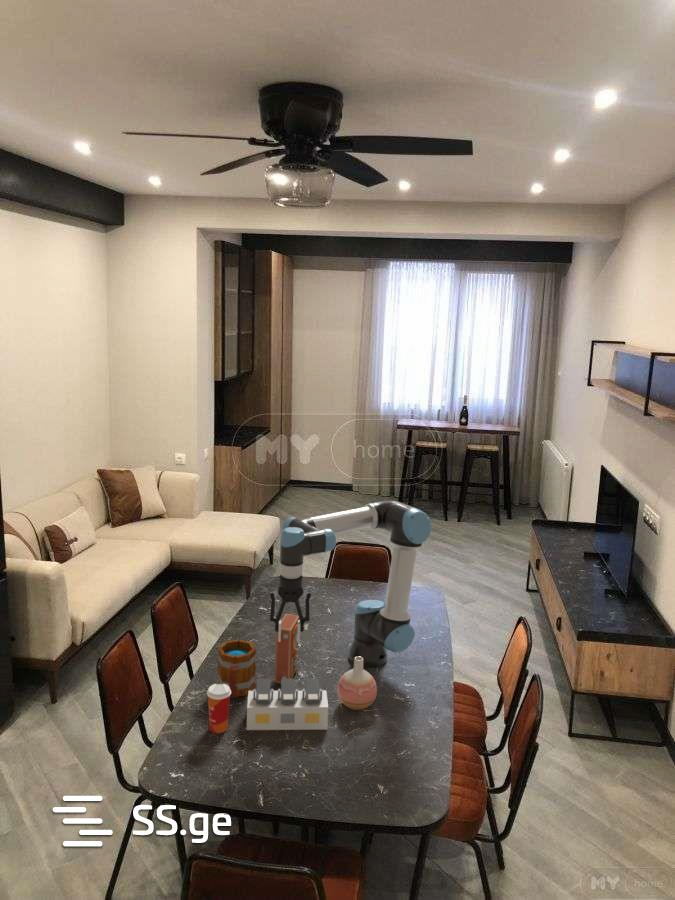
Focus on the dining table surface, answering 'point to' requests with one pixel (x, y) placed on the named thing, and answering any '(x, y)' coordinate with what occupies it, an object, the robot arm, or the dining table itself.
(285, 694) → the rocker
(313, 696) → the rocker
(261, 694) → the rocker
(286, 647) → the control panel
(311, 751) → the dining table surface
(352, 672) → the vase
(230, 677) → the mug
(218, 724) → the paper cup
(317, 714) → the console
